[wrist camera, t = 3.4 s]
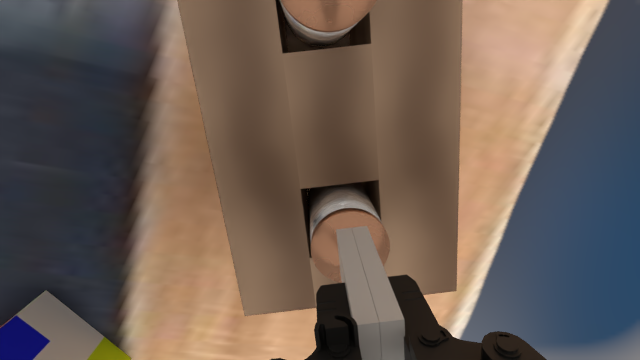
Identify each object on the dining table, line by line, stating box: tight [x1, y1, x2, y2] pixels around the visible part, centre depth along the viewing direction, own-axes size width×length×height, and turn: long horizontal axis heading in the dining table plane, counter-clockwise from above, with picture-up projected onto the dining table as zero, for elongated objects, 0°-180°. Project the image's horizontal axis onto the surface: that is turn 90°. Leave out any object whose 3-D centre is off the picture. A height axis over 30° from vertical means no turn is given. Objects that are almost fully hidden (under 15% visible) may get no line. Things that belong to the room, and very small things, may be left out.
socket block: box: [177, 0, 462, 316], centre depth 22 cm, size 14×24×8 cm, turn 6°
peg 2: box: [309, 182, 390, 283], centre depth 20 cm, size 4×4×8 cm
